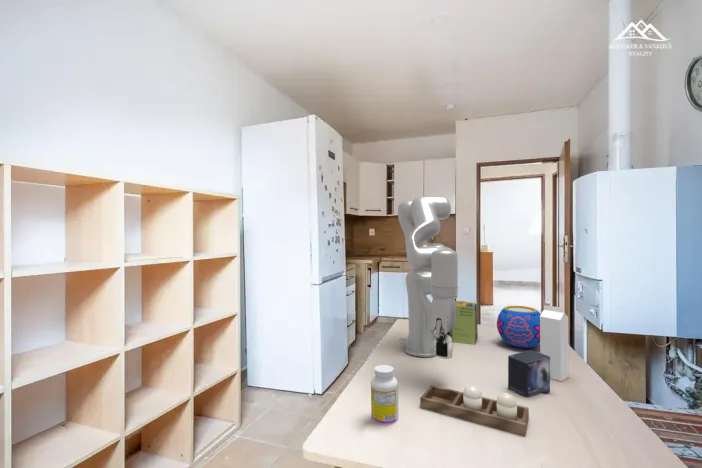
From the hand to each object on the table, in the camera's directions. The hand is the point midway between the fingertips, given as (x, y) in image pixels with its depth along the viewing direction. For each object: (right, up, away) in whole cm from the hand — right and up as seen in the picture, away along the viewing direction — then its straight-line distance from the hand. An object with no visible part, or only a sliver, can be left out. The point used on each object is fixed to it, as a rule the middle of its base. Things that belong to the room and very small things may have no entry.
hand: (444, 352), depth 100 cm
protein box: (+19, -10, +45) cm, 50 cm away
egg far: (+9, -10, -20) cm, 24 cm away
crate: (+3, -10, -16) cm, 19 cm away
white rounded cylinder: (0, -1, 0) cm, 1 cm away
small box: (+23, -10, -4) cm, 26 cm away
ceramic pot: (+40, -10, +35) cm, 55 cm away
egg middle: (+3, -10, -16) cm, 18 cm away
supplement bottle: (-19, -11, -17) cm, 28 cm away
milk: (+37, -10, +7) cm, 39 cm away
